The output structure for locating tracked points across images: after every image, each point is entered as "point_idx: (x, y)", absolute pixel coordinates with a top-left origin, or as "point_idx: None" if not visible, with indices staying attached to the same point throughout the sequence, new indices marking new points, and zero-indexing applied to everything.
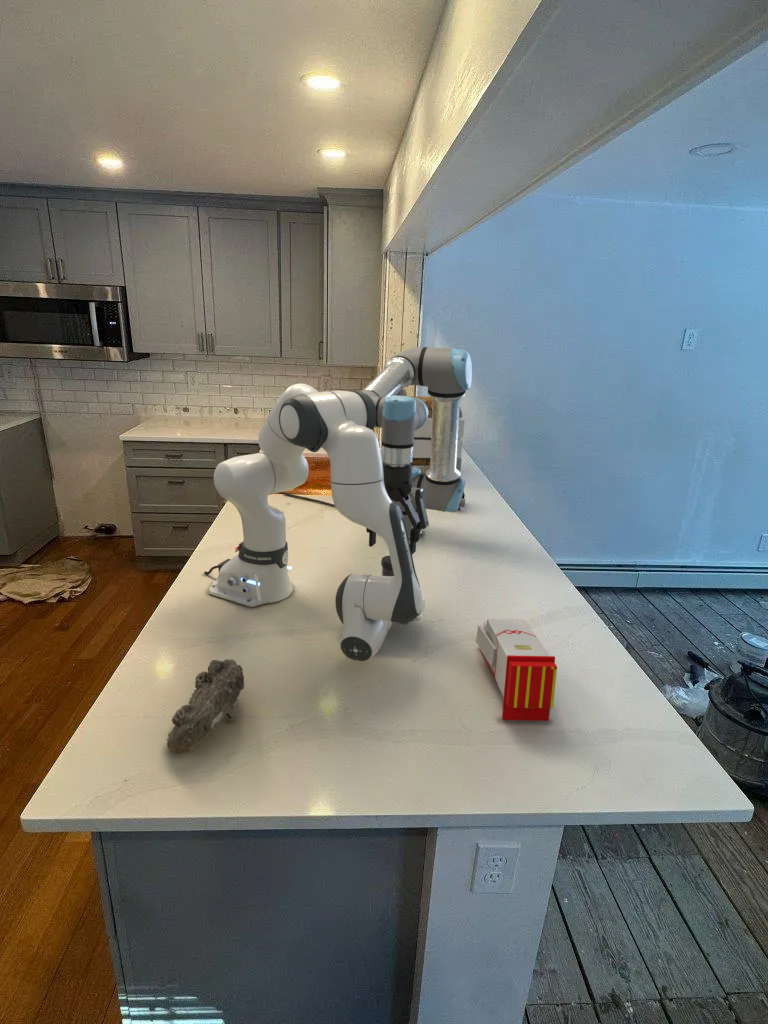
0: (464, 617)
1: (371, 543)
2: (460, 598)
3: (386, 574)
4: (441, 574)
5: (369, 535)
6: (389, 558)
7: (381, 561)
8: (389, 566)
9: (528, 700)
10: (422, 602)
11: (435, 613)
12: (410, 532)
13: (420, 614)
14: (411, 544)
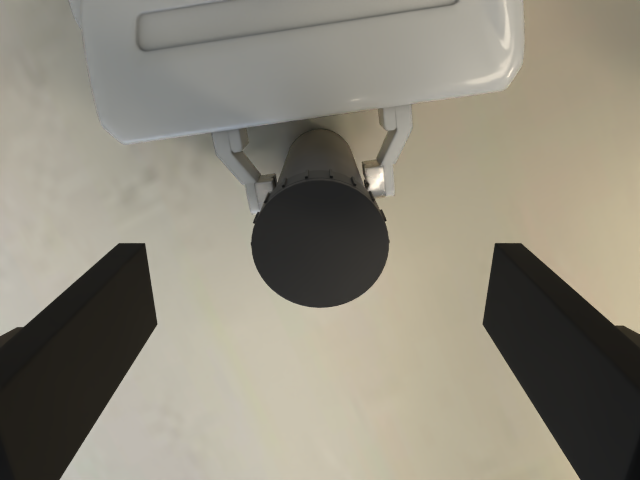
0: (67, 254)
1: (509, 256)
2: (138, 363)
3: (326, 167)
4: (259, 472)
5: (572, 291)
6: (339, 256)
7: (383, 217)
8: (305, 173)
9: None
10: (91, 86)
11: (166, 235)
12: (14, 375)
13: (72, 5)
14: (80, 289)
